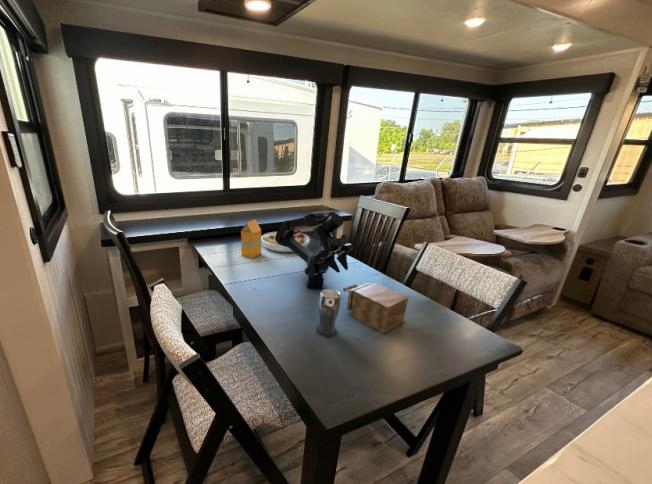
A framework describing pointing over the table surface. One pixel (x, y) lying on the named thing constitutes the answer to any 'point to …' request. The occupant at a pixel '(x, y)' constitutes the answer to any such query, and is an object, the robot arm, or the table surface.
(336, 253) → the robot arm
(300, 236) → the bowl
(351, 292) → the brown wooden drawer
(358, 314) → the wooden box
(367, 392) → the table surface
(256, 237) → the orange juice
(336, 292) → the beer glass
